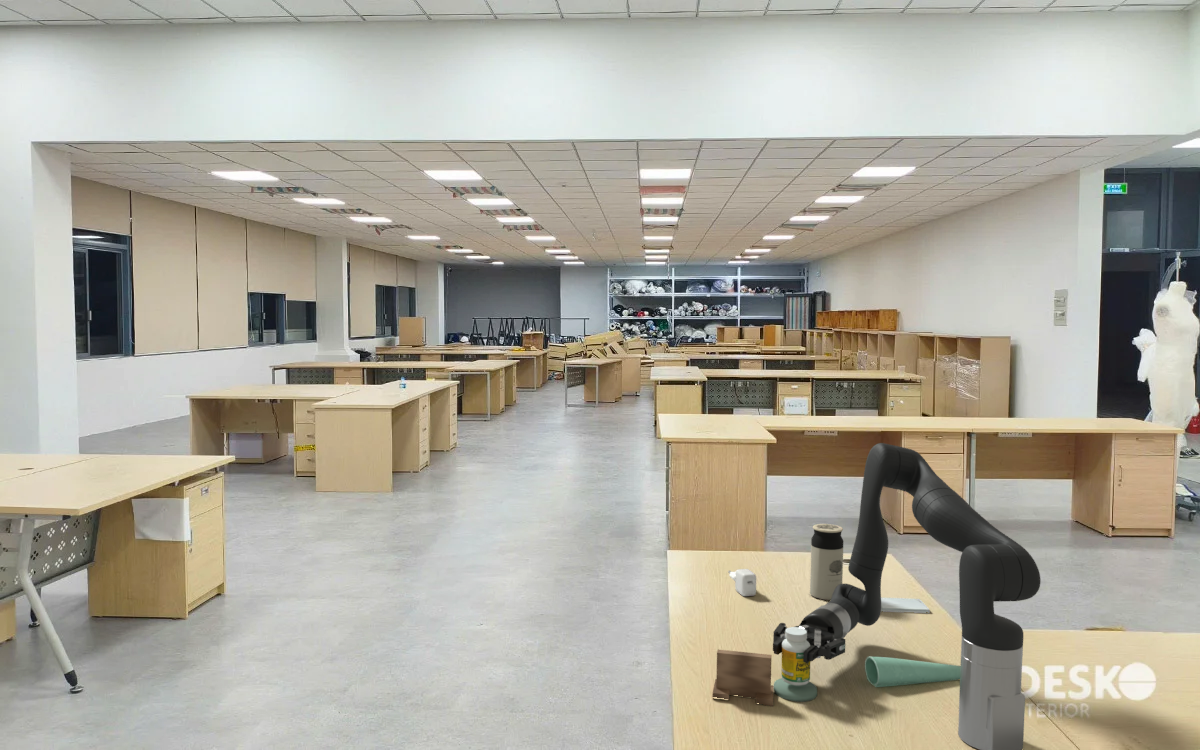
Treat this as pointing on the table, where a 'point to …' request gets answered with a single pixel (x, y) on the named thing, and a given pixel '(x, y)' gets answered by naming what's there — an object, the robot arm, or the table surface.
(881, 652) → the table surface
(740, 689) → the divider
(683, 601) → the table surface
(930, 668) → the long green cone
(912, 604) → the hard drive
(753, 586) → the power adapter
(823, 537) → the travel mug
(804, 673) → the supplement bottle
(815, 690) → the pad
